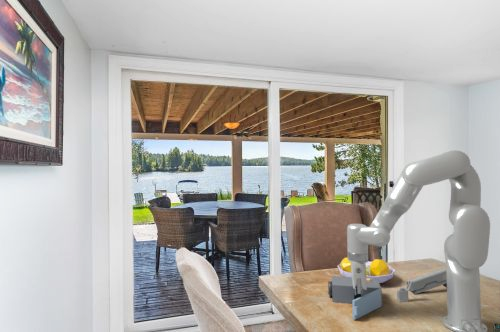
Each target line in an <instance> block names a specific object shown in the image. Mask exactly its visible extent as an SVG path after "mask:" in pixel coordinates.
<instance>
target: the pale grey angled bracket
mask: <svg viewBox="0 0 500 332" xmlns="http://www.w3.org/2000/svg"><path fill="white" fill-rule="evenodd" d="M408 280H409V282H408V284H407V283H406V287H400V288H399V289H397V290H396V297H397V298H396V299H397V302H399V303H405V302H407V303H408V302H409V292H410V293H412V292H411V291H412V288H413V286H414V282H412V281H410V280H411V279H408Z"/></svg>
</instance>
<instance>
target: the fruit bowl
mask: <svg viewBox="0 0 500 332" xmlns="http://www.w3.org/2000/svg"><path fill="white" fill-rule="evenodd" d="M337 269H338V270H339V272H340V274H341V275H340V276H343V277H352V276H351V262H350V261H348V256H347V257H344V258H342V260H341V261H340V263H339V264H338V265H337ZM395 272H396V269H395V268H393V267H392V266H390V265H388V263H387V262H386V260H384V259H377V258H376V259H374V260H372V261H369V260H368V262H367V263H366V278H375V279H378V282H379V284H383V283H385V282H387V281H389V280H391V279H393V276H394V274H395Z"/></svg>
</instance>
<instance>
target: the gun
mask: <svg viewBox="0 0 500 332" xmlns="http://www.w3.org/2000/svg"><path fill="white" fill-rule="evenodd" d="M409 280H410V281H412V282H414V286H413V288H412V291H411V292H410V293H411V294H413V295H418V294H420V293H423V292H426V291H428V290H429V291H430V290H431V289H435V288H438V287H441V286H442V287H445V288H446V289H447V275H446V267H444V268H441V269H437V270H435V271H432V272H429V273H426V274H423V275H420V276H417V277H414V278H411V279H408V280H407V281H406V285H407V284H408V282H409Z"/></svg>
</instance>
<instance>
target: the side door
mask: <svg viewBox="0 0 500 332" xmlns="http://www.w3.org/2000/svg"><path fill="white" fill-rule="evenodd" d="M382 307H383V290H382V288H381V289H377V290H375V291H373V292H371V293H368V294H366V295H364V296H361V297H359V298H357V299H355V300H352V307H351V308H352V320H353V321H355V320H358V319H360V318H362V317H364V316H365V315H367V314H370V313H372V312H373V311H375V310H377V309H380V308H382Z"/></svg>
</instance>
